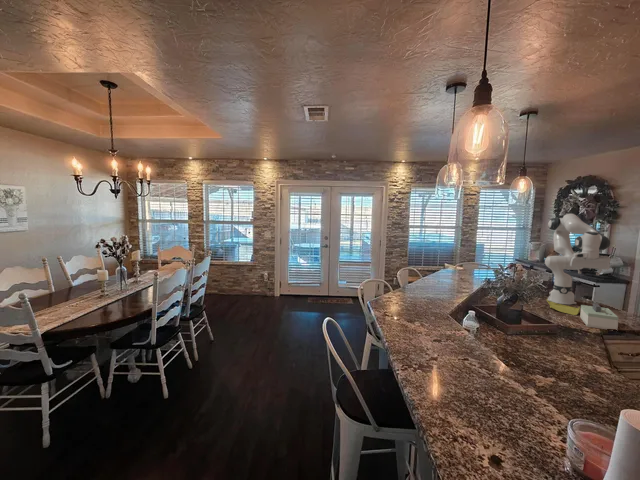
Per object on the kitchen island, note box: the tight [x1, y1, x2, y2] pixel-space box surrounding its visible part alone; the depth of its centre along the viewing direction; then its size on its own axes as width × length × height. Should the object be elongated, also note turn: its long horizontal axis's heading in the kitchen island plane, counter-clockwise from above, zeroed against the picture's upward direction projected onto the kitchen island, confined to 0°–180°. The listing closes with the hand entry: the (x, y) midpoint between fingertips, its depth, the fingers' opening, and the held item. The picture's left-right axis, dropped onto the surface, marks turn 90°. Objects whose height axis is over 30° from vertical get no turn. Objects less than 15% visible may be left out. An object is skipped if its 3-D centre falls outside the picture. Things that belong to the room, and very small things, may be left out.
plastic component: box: [546, 298, 581, 316], centre depth 217 cm, size 20×7×10 cm
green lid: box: [580, 303, 619, 321], centre depth 190 cm, size 20×14×6 cm
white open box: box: [579, 307, 619, 331], centre depth 190 cm, size 20×14×9 cm
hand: (588, 274), depth 200 cm, fingers open, 8 cm apart
